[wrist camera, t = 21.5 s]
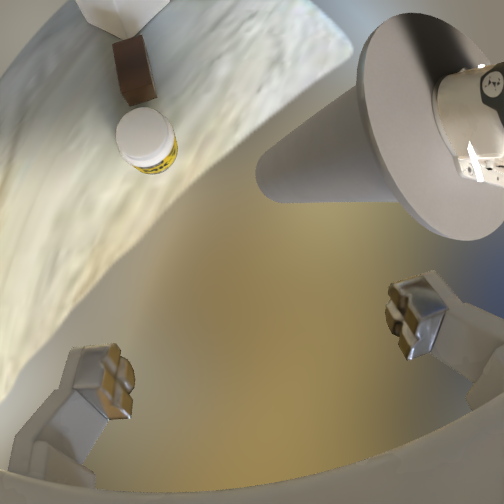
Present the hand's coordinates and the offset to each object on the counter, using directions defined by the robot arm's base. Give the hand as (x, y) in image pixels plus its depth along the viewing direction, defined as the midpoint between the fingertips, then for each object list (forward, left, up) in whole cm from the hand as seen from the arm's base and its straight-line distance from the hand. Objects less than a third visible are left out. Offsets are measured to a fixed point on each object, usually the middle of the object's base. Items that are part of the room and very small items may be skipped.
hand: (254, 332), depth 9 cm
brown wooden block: (+12, -15, -23) cm, 30 cm away
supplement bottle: (+8, -8, -23) cm, 26 cm away
